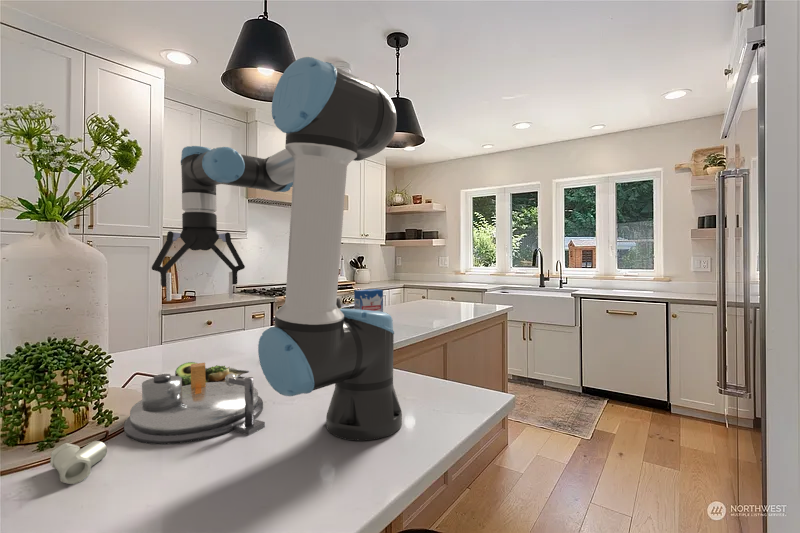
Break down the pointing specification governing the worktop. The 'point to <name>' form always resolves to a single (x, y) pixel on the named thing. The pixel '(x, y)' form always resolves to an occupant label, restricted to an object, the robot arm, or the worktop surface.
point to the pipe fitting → (76, 460)
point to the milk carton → (368, 299)
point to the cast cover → (161, 393)
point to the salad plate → (207, 373)
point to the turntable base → (185, 437)
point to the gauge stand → (246, 405)
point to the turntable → (195, 407)
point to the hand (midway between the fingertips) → (200, 299)
